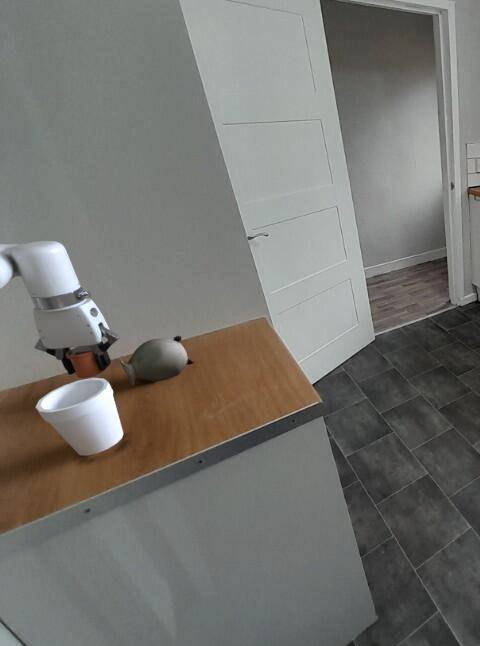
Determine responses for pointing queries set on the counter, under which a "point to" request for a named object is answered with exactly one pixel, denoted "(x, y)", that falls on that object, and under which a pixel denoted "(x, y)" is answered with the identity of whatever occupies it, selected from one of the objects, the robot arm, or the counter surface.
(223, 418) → the counter surface
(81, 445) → the foam cup
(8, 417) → the counter surface
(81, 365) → the pot
